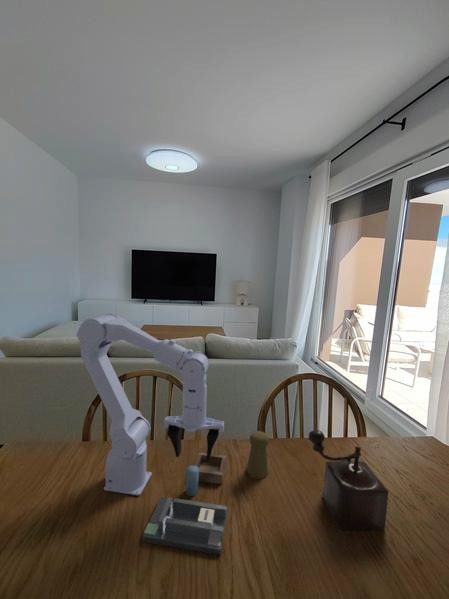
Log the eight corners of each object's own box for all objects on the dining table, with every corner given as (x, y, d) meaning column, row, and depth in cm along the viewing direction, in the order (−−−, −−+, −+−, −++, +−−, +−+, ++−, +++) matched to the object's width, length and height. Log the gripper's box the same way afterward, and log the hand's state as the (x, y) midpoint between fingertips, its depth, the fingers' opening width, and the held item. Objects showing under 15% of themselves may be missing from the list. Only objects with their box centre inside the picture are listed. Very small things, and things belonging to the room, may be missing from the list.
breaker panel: (142, 541, 60) (142, 527, 59) (160, 501, 70) (161, 489, 70) (220, 555, 58) (221, 540, 57) (227, 512, 68) (227, 499, 68)
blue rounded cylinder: (184, 495, 72) (185, 472, 72) (187, 486, 75) (188, 464, 75) (196, 497, 72) (197, 474, 71) (199, 488, 75) (200, 466, 74)
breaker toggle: (197, 528, 62) (197, 520, 61) (200, 514, 65) (201, 507, 65) (211, 530, 61) (211, 522, 61) (214, 517, 65) (214, 509, 64)
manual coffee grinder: (359, 492, 76) (366, 426, 74) (386, 530, 65) (394, 454, 63) (301, 493, 75) (306, 426, 73) (317, 532, 64) (324, 454, 62)
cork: (267, 480, 79) (270, 441, 78) (245, 476, 80) (247, 438, 79) (268, 466, 85) (271, 429, 84) (247, 462, 86) (249, 426, 85)
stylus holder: (192, 480, 78) (192, 470, 77) (198, 460, 86) (199, 452, 85) (221, 484, 77) (222, 474, 76) (226, 464, 85) (226, 455, 84)
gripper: (160, 408, 68) (159, 463, 70) (221, 413, 67) (220, 470, 68) (169, 395, 75) (169, 446, 77) (225, 400, 73) (224, 451, 75)
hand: (193, 456), depth 73 cm, fingers open, 7 cm apart
